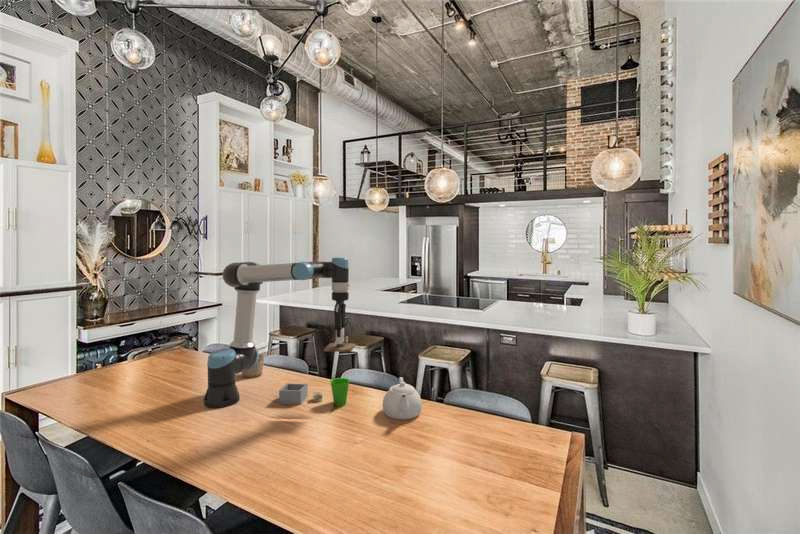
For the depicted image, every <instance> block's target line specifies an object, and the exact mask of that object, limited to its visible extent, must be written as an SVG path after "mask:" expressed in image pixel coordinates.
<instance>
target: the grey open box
mask: <svg viewBox="0 0 800 534" xmlns="http://www.w3.org/2000/svg"><path fill="white" fill-rule="evenodd" d="M308 389H309V388H308V383H293V382H291V383H290V382H288V383H285V385H283V386H282V387H281V388H280V389H279V390H278V391H279V392H278V395H279V397H278V401H279V402H278V404H279V405H280V404H283V405H302V404H303V403H304V402H305V400H306V399H307V398H308V396H309V395H308V393H309V392H308Z"/></svg>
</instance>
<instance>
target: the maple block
mask: <svg viewBox="0 0 800 534" xmlns="http://www.w3.org/2000/svg"><path fill="white" fill-rule="evenodd" d="M312 401H313V403H315V402H322V401H323V392H322V391H320V392H312Z"/></svg>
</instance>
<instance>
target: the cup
mask: <svg viewBox="0 0 800 534" xmlns="http://www.w3.org/2000/svg"><path fill="white" fill-rule="evenodd" d="M350 382H351V379H349V378H347V377H337V378H331V380H330V381H329V383H330V386H331V392H332V398H333V404H334V406H335V407H338V408H340V407H344V406H345V405H346V403H347V396H348V392H349V385H350Z"/></svg>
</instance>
